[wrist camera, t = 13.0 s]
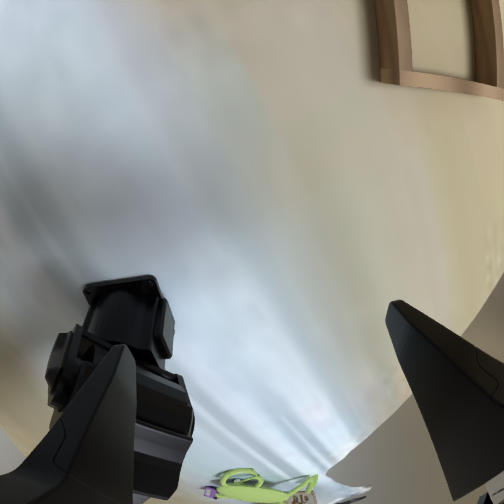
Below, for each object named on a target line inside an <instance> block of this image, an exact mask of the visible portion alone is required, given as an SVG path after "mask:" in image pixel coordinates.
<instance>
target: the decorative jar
mask: <svg viewBox="0 0 504 504" xmlns="http://www.w3.org/2000/svg"><path fill="white" fill-rule="evenodd" d="M285 493H288V492H285ZM258 504H269V503H258ZM285 504H317V501H316V497H315V493H314V491H311V492H310V493H309V494H306V493H305V491H301V492H296V493H295V494H293V495H292V496H290V497H289V499H288V500H286V501H285Z"/></svg>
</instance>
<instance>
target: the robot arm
mask: <svg viewBox="0 0 504 504" xmlns="http://www.w3.org/2000/svg"><path fill="white" fill-rule="evenodd" d="M149 281H150V282H153V283H152V284H150V283H148V282H149ZM88 290H89V291H91V292H89V291H88ZM83 293H84V295H85V297H86V299H87V301H88V303H89V305H90V307H89V310H88V312H87V315H86V318H85V321H84V323H83V326H82V327H81V326H80V325H78V324H76V325H75V327H74V329H73V330H72V331H70V332H68V333H59V335H58V337H57V339H56V341H55V344H54V346H53V349H52V352H51V355H50V358H49V361H48V366H47V370H46V374H45V379H46V381H47V384H48V406H50V407H52V408H54V412H53V415H52V418H51V422H50V426H49V429H50V431H49V432H48V433H47V435H46V436H45V437H44V438H43V439H42V441H41V442H40V443H39V444H38V445H37V446H36V448H35V449H34V450H33V451H32V452H31V453H30V454H29V456H28V457H27V458H26V459H25V460H24V461H23V462H22V464H21V465H20V466H19V467H18V468H16V469H15V470H13V471H12V472H10V473H7V474H4V475H0V504H142V503H144V502H145V501H146V500H148V499H149V498H150V497H152V498H157V499H162V500H168V499H169V498H170V497H171V496H172V494H173V493H174V492H175V491H176V489H177V487H178V481H179V476H180V471H181V467H182V463H183V460H184V458H185V455H186V452H187V451H188V449H189V447H190V445H191V443H192V442H193V438H192V434H193V431H194V424H195V417H194V412H193V408H192V406H191V403H190V399H189V396H188V393H187V390H186V386H185V383H184V380H183V377H182V376H180V375H178V374H173V373H170V372H168V371H166V370H165V359H170V358H171V357H172V351H173V337H174V333H175V330H174V324H175V321H174V318H173V315H172V312H171V309H170V306H169V304H168V301H167V300H166V299H165V298H163V296H162V294H161V291H160V288H159V285H158V282H157V279H156V278H155V277H153V276H144V277H138V278H131V279H124V280H117V281H110V282H103V283H96V284H89V285H86V286H85V287H84V289H83ZM385 321H386V326H387V329H388V332H389V335H390V338H391V340H392V343H393V346H394V349H395V352H396V355H397V358H398V361H399V363H400V366H401V368H402V370H403V372H404V374H405V377H406V379H407V381H408V384H409V386H410V388H411V390H412V393H413V395H414V397H415V399H416V402H417V404H418V407H419V409H420V411H421V414H422V416H423V419H424V421H425V424H426V426H427V429H428V432H429V434H430V437H431V439H432V442H433V444H434V447H435V450H436V452H437V454H438V458H439V461H440V463H441V466H442V469H443V472H444V475H445V478H446V481H447V484H448V487H449V490H450V493H451V496H452V499H453V501H456V500H457V499H459V498H461V497H463V496H465V495H466V494H468V493H470V492H472V491H473V490H475V489H476V488H478V487H480V486H482V485H483V484H485V486H486V488H487V490H488V492H487V493H485V494H484V495H482V496H480V498H479V500H478V503H477V504H504V363H502V362H500V361H499V360H497V359H495V358H493V357H491V356H490V355H488V354H487V353H485V352H484V351H482V350H480V349H479V348H477V347H475V346H474V345H473V344H471V343H470V342H468V341H466V340H465V339H463V338H462V337H460V336H459V335H457V334H456V333H454V332H452V331H451V330H449V329H448V328H446V327H444V326H443V325H441V324H440V323H438V322H436V321H435V320H433V319H432V318H430V317H428V316H427V315H425V314H424V313H422V312H420V311H419V310H417V309H416V308H414V307H412V306H411V305H409V304H407V303H406V302H404V301H402V300H396V301H392V302H390V303H389V306H388V310H387V314H386V320H385Z"/></svg>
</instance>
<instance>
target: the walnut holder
mask: <svg viewBox="0 0 504 504" xmlns="http://www.w3.org/2000/svg"><path fill="white" fill-rule="evenodd" d="M374 1H375V10H376V19H377V30H378V42H379V57H380V79H381V82H382V83H389V84H395V85H400V86H412V87H422V88H431V89H439V90H447V91H454V92H460V93H466V94H472V95H477V96H483V97H488V98H492V99H497V100H502V101H504V49H503V34H502V23H501V14H500V6H499V0H471V6H472V15H473V25H474V37H475V55H476V82H473V81H468V80H463V79H458V78H453V77H447V76H441V75H435V74H428V73H420V72H413V71H412V50H411V35H410V23H409V13H408V4H407V0H374Z"/></svg>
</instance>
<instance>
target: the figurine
mask: <svg viewBox="0 0 504 504" xmlns="http://www.w3.org/2000/svg"><path fill="white" fill-rule="evenodd" d="M238 473H251V474H253V475H255V476H253V477H250V478H247V479H244V480H242V481H241V480H240V479H238V478H237V479H235V480H234V483H233V482H231V483H229V484H227V483H226V481H227V479H228V478H229V477H230V476H232V475H235V474H238ZM251 479H257V480H258V482H257V483H256V484H255V485H254V486H252V485H245V484H244V483H243V482H245V481H248V480H251ZM317 480H318V474H317V475H314V476H313V477H308V478H307V479H306V480H304V481H303V482H302V483H301V484H300V485H298V486H297V487H295V488H294V489H292V490H291V491H289V492H288V493H285V492H282V491H280V490H276V489H272V488H267V487H261V485H263V478H262V477H261V476H257V473H256V472H255V471H254V470H253V469H250V468H237V469H232V470H230V471H228V472H226V473H224V475H223V476H222V477H221V479H220V483H221V486H219V487H217V488H212V487H206V490H205V493H204V496H207V497H210V498H213V499H217V498H233V499H237V500H241V501H247V502H256V503H269V504H285V501H286V500H288V499H289V497H290V496H292V495H293V494H295V493H296V492H298V491H299V490H301V489H302V488H304V487H305V486H306V485H307V484H308V486H307V488H306V490H305V493H306V494H309V493H310V492H311V491H312V489H313V488H314V487H315V485H316V483H317ZM219 493H220V494H219ZM221 494H222V495H221Z"/></svg>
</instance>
